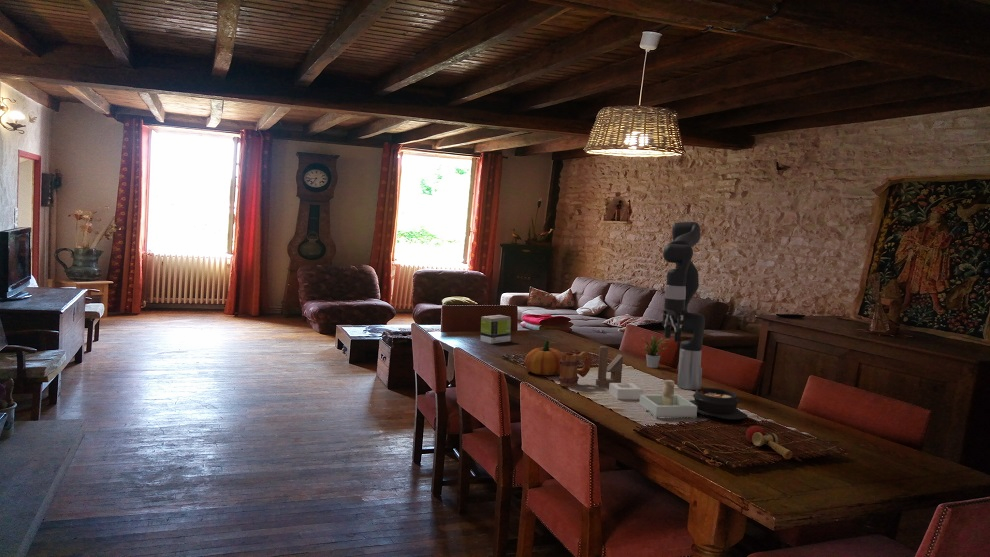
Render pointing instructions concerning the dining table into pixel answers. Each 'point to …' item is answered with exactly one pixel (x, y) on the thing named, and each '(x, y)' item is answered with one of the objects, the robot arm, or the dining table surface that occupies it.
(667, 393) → the dowel
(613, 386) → the holder
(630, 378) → the dining table surface
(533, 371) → the pumpkin
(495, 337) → the tea box
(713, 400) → the casserole
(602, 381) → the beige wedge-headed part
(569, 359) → the mug
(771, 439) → the kendama
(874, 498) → the dining table surface
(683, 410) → the tray
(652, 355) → the house plant
